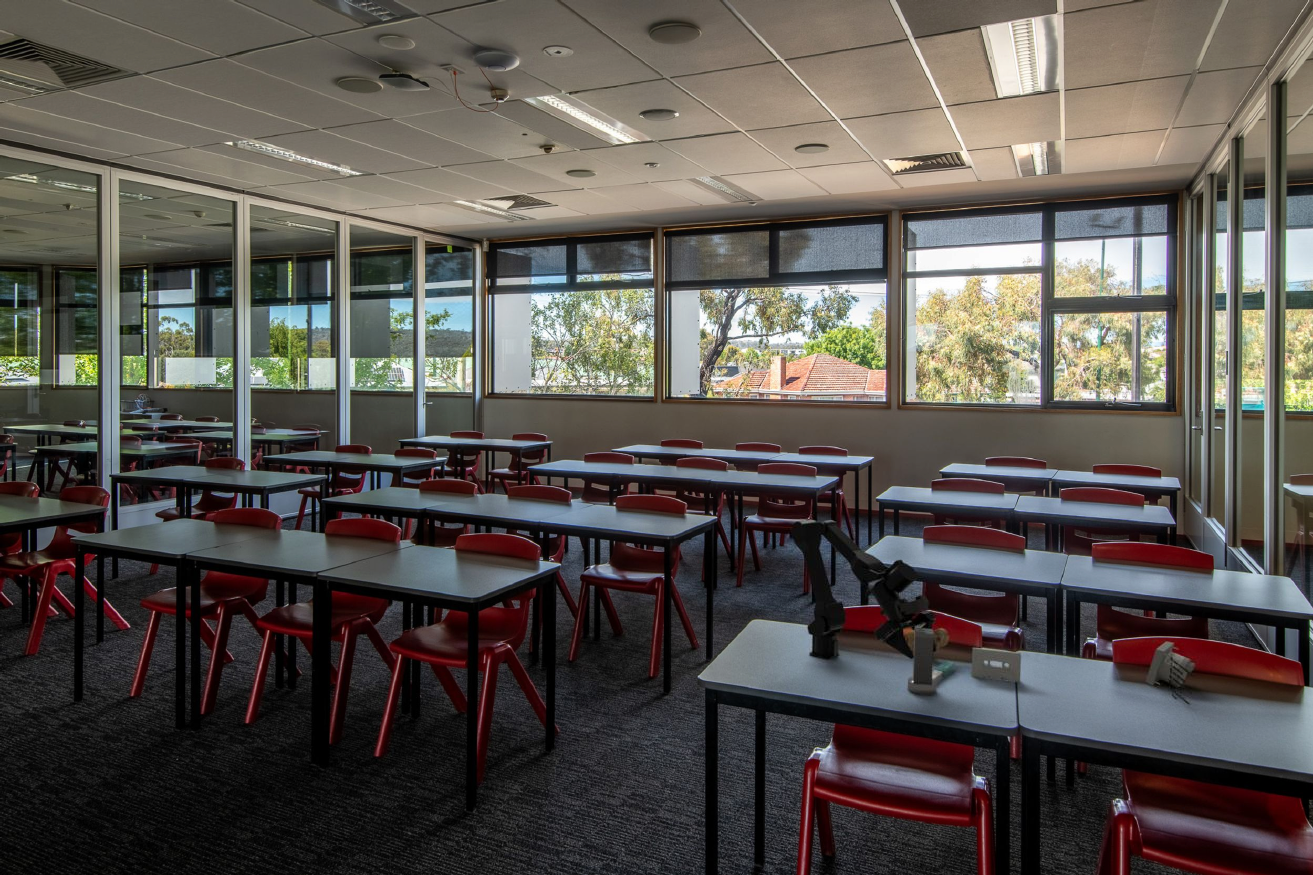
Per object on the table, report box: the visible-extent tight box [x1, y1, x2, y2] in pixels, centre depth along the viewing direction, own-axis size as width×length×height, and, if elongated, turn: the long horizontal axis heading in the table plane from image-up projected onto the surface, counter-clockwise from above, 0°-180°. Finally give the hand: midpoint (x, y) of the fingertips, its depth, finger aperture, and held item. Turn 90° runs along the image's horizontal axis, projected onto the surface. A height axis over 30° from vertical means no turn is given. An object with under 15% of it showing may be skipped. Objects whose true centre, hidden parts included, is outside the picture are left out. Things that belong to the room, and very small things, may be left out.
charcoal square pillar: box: [912, 628, 934, 685], centre depth 210 cm, size 4×4×13 cm
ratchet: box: [907, 660, 955, 697], centre depth 218 cm, size 7×24×5 cm, turn 142°
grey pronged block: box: [1145, 641, 1196, 706], centre depth 210 cm, size 27×11×10 cm, turn 170°
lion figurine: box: [904, 627, 950, 659], centre depth 238 cm, size 15×5×9 cm, turn 49°
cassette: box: [970, 647, 1022, 683], centre depth 220 cm, size 12×2×8 cm, turn 69°
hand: (924, 654), depth 210 cm, fingers open, 9 cm apart
